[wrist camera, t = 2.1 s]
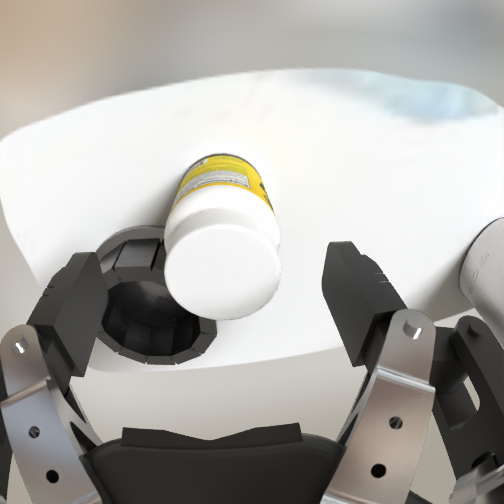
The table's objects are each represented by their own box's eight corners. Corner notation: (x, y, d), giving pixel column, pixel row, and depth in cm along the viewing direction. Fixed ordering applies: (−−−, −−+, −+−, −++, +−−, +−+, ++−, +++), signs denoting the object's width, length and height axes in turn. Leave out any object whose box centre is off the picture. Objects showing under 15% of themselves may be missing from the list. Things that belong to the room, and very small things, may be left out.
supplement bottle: (259, 227, 19) (282, 328, 12) (183, 227, 18) (161, 329, 11) (266, 151, 16) (301, 216, 9) (180, 150, 16) (143, 214, 9)
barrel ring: (223, 221, 18) (223, 251, 15) (229, 335, 24) (231, 369, 21) (74, 230, 17) (53, 258, 15) (111, 335, 23) (102, 367, 20)
